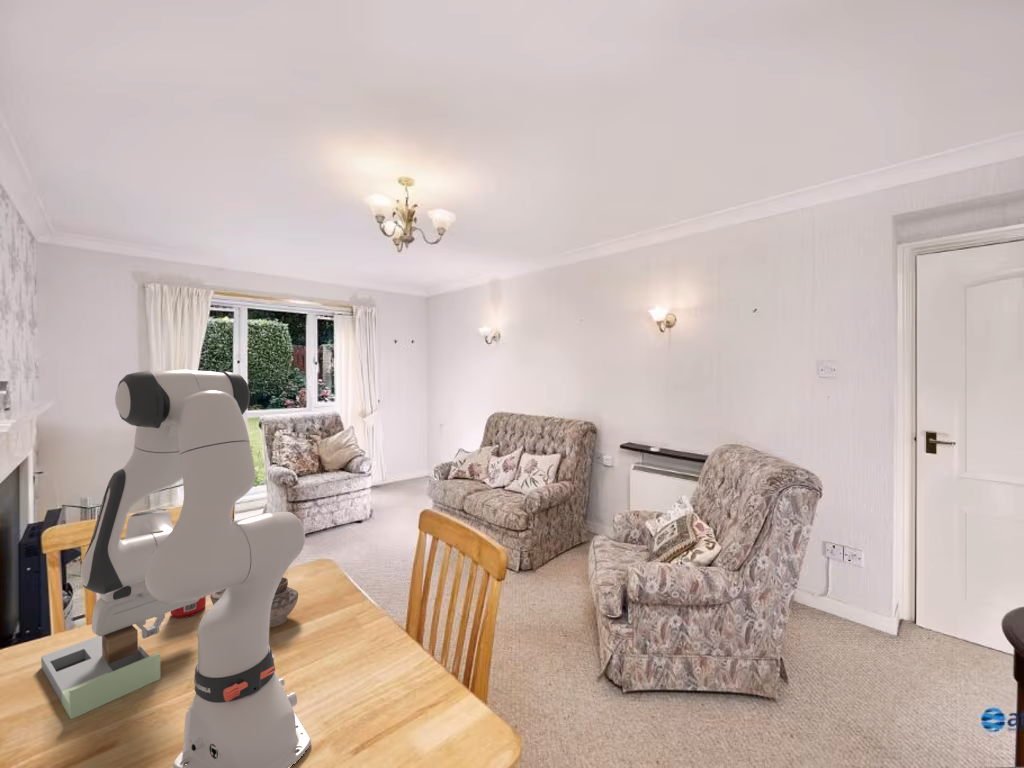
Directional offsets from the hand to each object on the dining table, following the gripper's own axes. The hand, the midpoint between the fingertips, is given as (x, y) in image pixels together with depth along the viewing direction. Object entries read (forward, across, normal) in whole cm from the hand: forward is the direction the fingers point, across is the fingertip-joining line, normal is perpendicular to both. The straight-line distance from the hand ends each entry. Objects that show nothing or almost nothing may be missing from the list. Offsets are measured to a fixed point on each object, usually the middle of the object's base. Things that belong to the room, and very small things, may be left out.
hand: (150, 635), depth 106 cm
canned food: (+4, -12, -13) cm, 18 cm away
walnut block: (+1, +6, +1) cm, 6 cm away
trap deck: (+4, +9, +1) cm, 10 cm away
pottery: (+4, -21, +5) cm, 22 cm away
